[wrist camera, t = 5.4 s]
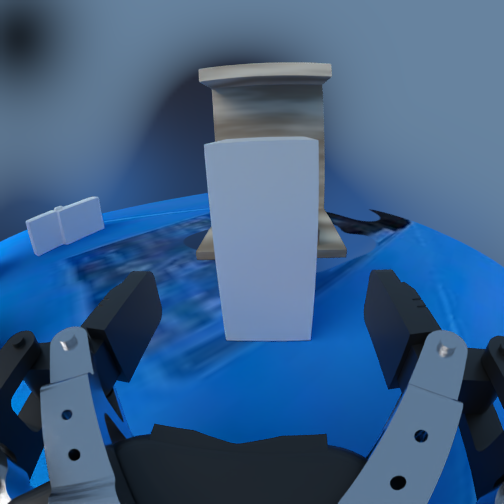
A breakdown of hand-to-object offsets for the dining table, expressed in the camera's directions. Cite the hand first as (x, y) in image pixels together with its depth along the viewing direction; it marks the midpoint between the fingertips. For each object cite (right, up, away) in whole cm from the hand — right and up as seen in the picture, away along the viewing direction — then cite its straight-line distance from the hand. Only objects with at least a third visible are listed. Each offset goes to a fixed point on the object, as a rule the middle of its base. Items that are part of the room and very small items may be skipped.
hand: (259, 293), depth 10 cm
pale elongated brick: (+1, -3, +9) cm, 9 cm away
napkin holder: (-27, +2, +25) cm, 37 cm away
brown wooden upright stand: (+2, +4, +23) cm, 23 cm away
